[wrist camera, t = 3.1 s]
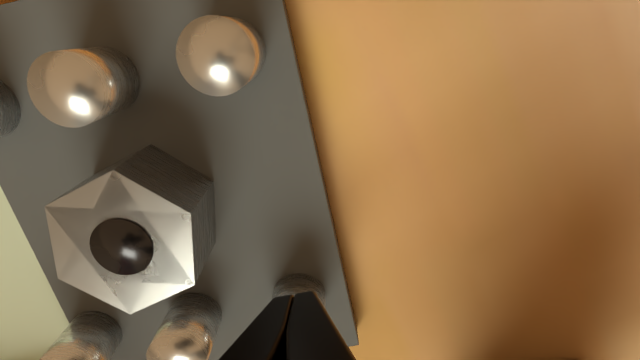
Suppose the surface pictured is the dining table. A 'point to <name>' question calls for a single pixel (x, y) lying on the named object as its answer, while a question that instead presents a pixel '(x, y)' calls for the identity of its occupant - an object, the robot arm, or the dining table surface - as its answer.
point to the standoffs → (118, 94)
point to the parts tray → (24, 295)
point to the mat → (180, 155)
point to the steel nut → (134, 230)
